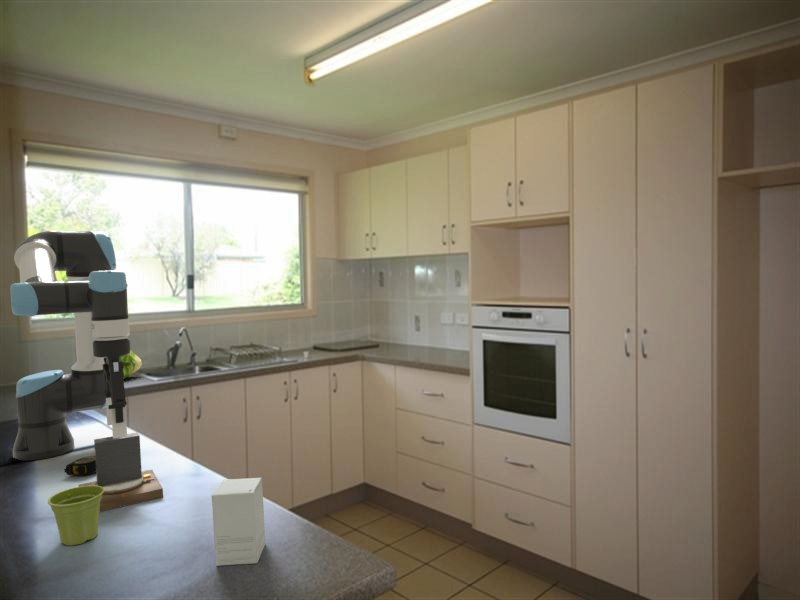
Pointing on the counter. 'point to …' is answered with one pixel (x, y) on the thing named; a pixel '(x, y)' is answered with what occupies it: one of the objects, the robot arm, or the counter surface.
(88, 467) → the tape measure
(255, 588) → the counter surface
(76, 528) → the plant pot
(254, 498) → the supplement box
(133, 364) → the lettuce
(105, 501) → the dial base plate
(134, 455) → the dial knob
